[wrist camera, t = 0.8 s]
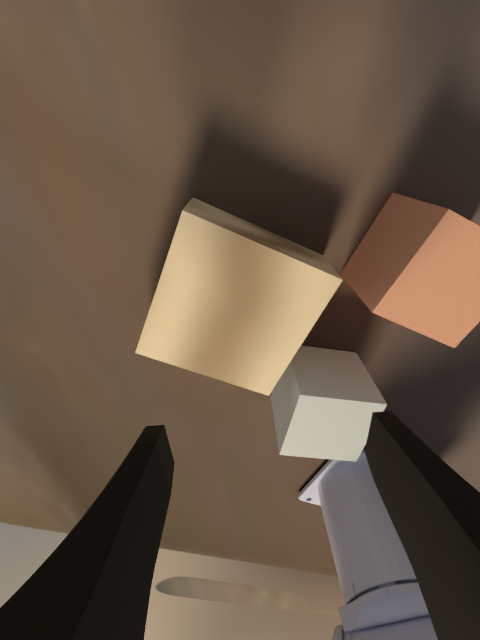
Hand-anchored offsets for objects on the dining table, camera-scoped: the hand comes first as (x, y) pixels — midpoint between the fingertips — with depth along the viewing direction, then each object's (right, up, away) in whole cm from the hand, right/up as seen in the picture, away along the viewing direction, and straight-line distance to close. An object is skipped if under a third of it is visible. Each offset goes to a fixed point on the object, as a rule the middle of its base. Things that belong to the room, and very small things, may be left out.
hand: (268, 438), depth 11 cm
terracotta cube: (+8, +8, +7) cm, 14 cm away
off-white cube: (+4, 0, +12) cm, 12 cm away
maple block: (-1, +6, +8) cm, 10 cm away
